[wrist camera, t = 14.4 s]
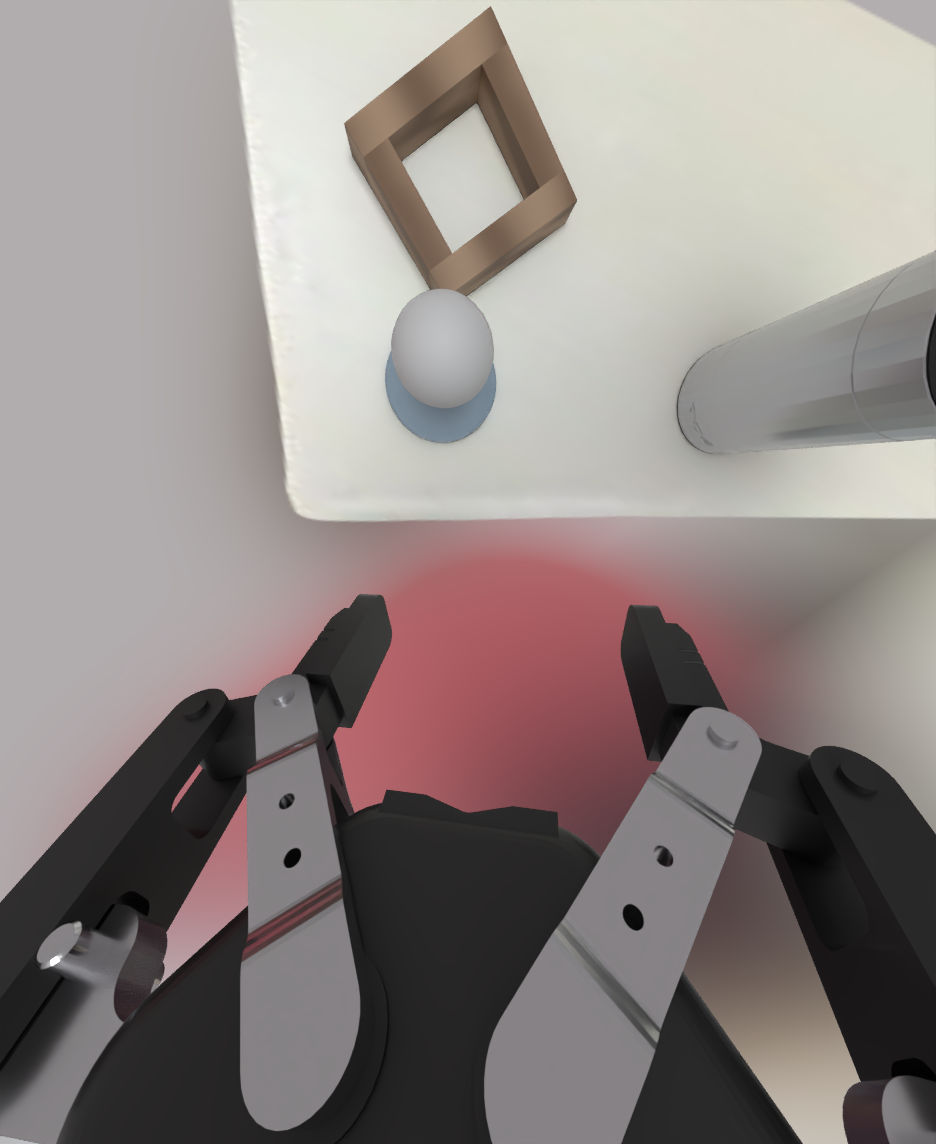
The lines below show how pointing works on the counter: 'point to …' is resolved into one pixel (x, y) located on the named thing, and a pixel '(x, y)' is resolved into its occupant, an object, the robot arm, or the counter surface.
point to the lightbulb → (442, 348)
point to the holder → (423, 108)
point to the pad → (438, 410)
